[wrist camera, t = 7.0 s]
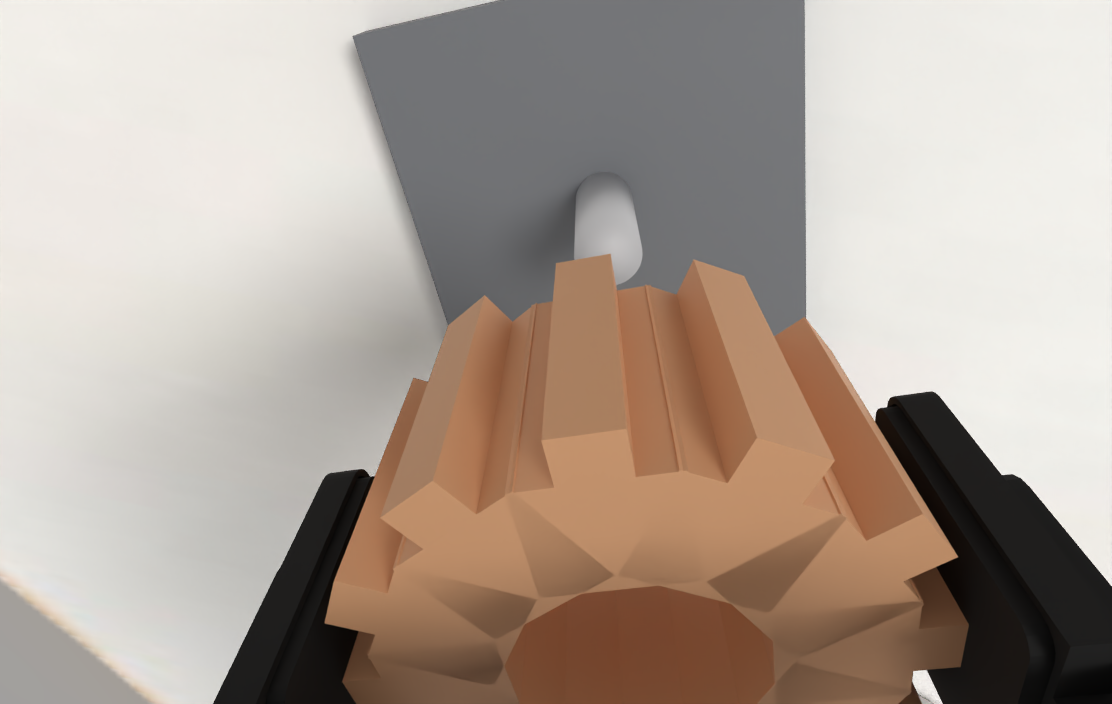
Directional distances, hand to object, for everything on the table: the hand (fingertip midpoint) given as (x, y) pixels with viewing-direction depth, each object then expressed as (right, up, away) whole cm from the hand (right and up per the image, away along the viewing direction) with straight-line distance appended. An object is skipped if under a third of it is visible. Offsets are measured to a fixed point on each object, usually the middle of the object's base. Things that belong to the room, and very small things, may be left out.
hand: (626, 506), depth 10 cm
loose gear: (0, +1, +1) cm, 1 cm away
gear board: (+2, +5, +16) cm, 17 cm away
